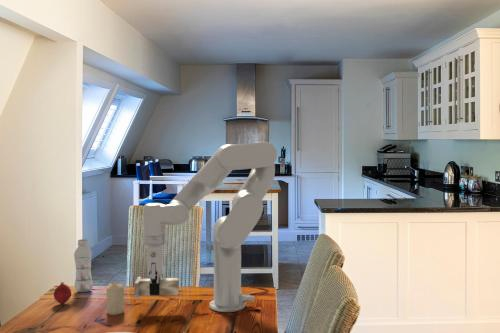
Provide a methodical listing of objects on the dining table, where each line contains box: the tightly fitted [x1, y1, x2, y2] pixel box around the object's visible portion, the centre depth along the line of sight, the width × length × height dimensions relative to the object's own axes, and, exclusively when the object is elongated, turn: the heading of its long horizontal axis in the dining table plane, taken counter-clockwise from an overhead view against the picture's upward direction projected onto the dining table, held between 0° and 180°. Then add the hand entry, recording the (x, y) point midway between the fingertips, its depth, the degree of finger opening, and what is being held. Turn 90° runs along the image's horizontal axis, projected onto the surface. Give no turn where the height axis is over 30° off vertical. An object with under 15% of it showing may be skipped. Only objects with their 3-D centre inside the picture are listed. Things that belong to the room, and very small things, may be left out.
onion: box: [53, 281, 72, 305], centre depth 172 cm, size 6×6×8 cm
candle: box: [106, 281, 125, 316], centre depth 164 cm, size 6×6×10 cm
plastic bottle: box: [73, 238, 94, 293], centre depth 186 cm, size 6×7×20 cm
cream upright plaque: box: [134, 276, 180, 299], centre depth 165 cm, size 14×8×5 cm, turn 96°
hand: (155, 292), depth 165 cm, fingers closed on cream upright plaque, 3 cm apart
